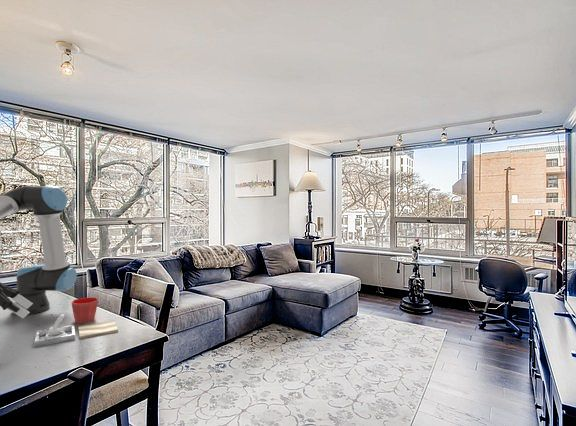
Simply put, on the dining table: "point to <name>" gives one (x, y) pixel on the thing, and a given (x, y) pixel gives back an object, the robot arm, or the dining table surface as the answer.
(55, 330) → the hook
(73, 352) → the dining table surface
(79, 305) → the flower pot
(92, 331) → the birch pad
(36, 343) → the steel holder
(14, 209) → the robot arm
